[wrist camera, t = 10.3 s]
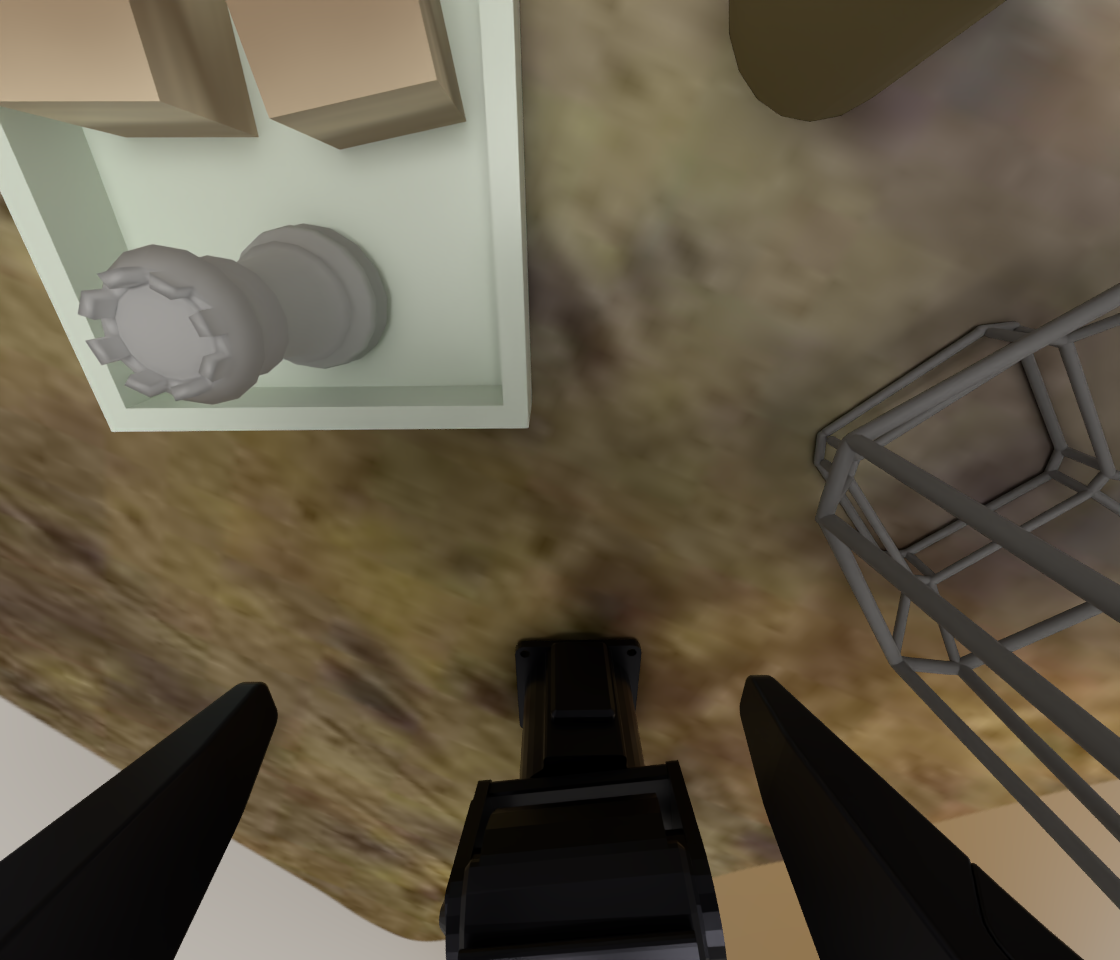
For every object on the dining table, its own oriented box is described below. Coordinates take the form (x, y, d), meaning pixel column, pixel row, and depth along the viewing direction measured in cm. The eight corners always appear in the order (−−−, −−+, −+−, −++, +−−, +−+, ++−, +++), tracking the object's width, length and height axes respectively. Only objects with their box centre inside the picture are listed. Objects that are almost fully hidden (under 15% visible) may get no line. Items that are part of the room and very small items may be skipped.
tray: (532, 400, 19) (528, 428, 16) (178, 403, 18) (111, 431, 16) (516, -114, 12) (505, -218, 10) (-23, -116, 12) (-192, -223, 9)
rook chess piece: (348, 386, 18) (209, 483, 11) (236, 300, 16) (-13, 343, 9) (418, 294, 16) (312, 333, 9) (301, 190, 15) (68, 140, 8)
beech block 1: (259, 137, 14) (159, 100, 11) (125, 137, 14) (-19, 101, 11) (214, -48, 12) (76, -167, 9) (61, -48, 12) (-139, -167, 9)
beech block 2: (466, 121, 14) (436, 79, 11) (339, 149, 14) (269, 118, 11) (425, -65, 12) (373, -191, 9) (282, -28, 13) (174, -136, 9)
